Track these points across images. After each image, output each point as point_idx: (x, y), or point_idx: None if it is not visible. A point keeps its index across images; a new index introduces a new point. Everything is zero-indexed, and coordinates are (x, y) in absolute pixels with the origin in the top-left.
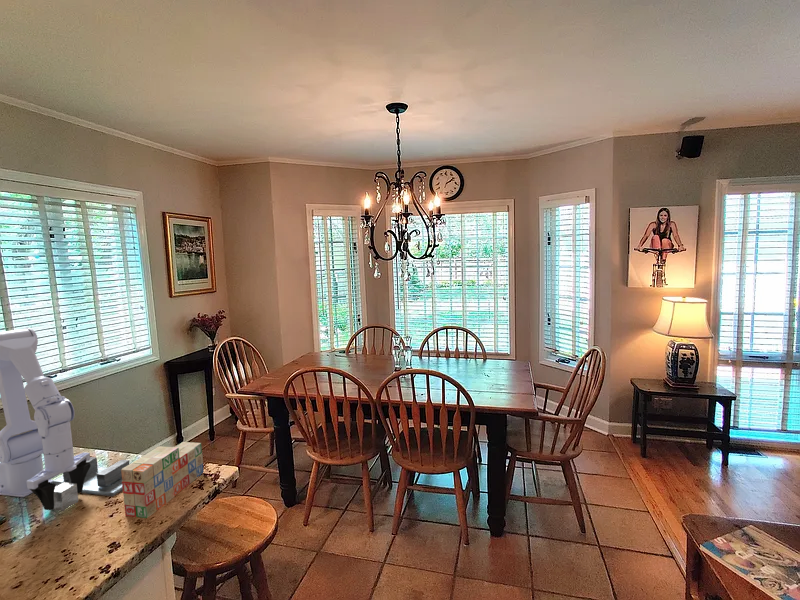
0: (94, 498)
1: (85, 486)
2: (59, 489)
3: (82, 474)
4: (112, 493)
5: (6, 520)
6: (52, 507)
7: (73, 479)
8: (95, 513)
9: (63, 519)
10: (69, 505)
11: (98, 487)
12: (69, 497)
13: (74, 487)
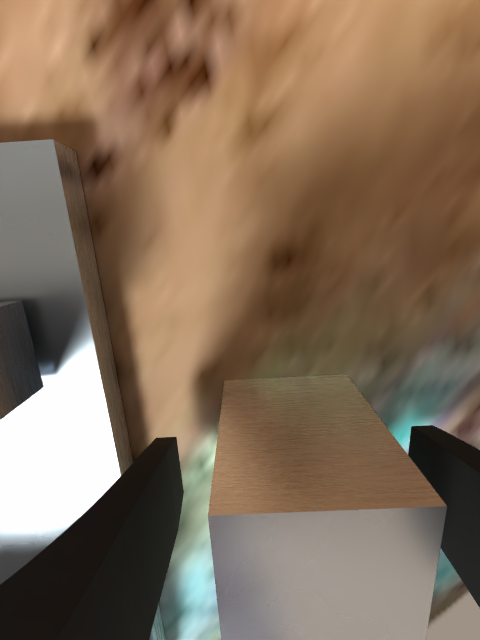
0: (156, 298)
1: (81, 488)
2: (377, 584)
3: (50, 631)
4: (60, 149)
5: (466, 592)
6: (437, 433)
7: (138, 629)
8: (341, 43)
9: (445, 266)
10: (300, 382)
11: (49, 376)
12: (306, 421)
13: (246, 481)
